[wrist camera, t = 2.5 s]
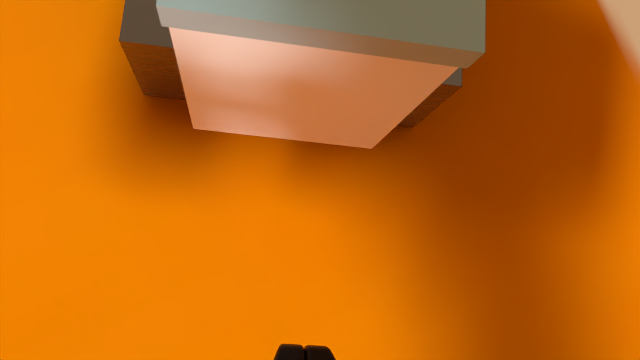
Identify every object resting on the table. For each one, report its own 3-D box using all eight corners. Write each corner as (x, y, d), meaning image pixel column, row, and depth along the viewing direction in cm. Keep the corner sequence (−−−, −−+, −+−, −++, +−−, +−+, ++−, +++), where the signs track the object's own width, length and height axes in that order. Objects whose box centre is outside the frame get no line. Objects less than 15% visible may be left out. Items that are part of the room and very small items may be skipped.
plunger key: (374, 151, 19) (485, 53, 11) (189, 131, 18) (156, 5, 10) (381, 12, 20) (488, -176, 12) (207, -14, 19) (190, -238, 11)
